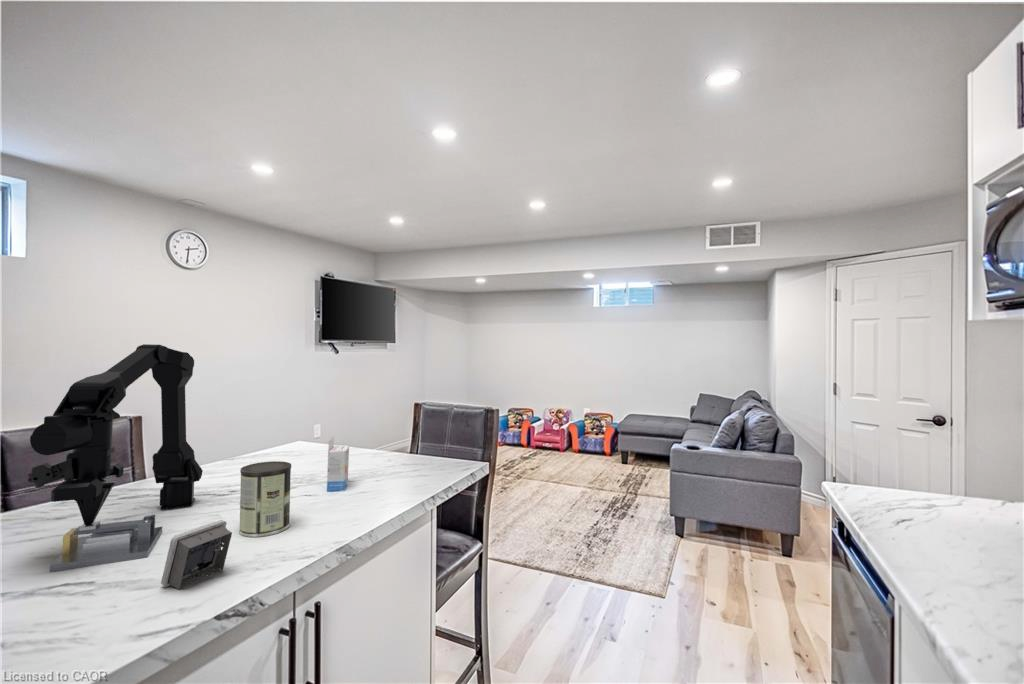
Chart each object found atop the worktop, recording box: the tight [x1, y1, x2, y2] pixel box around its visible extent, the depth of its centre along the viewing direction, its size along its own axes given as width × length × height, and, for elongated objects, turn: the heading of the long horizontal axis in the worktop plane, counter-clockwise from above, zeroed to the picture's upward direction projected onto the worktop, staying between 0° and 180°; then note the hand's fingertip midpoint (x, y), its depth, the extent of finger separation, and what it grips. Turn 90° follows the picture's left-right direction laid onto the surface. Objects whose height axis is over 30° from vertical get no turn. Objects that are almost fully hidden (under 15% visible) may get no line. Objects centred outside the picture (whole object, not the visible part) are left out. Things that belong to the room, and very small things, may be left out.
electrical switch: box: [160, 519, 233, 591], centre depth 82 cm, size 9×5×9 cm, turn 158°
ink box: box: [326, 435, 350, 492], centre depth 138 cm, size 8×5×15 cm, turn 13°
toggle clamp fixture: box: [49, 514, 163, 573], centre depth 93 cm, size 14×14×5 cm
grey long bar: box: [74, 517, 153, 536], centre depth 93 cm, size 12×3×2 cm, turn 118°
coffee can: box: [238, 460, 292, 538], centre depth 105 cm, size 10×10×14 cm
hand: (88, 524), depth 91 cm, fingers closed
